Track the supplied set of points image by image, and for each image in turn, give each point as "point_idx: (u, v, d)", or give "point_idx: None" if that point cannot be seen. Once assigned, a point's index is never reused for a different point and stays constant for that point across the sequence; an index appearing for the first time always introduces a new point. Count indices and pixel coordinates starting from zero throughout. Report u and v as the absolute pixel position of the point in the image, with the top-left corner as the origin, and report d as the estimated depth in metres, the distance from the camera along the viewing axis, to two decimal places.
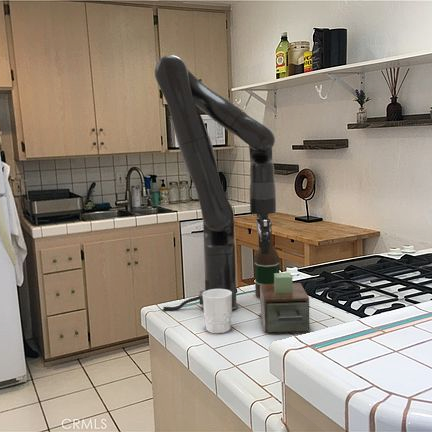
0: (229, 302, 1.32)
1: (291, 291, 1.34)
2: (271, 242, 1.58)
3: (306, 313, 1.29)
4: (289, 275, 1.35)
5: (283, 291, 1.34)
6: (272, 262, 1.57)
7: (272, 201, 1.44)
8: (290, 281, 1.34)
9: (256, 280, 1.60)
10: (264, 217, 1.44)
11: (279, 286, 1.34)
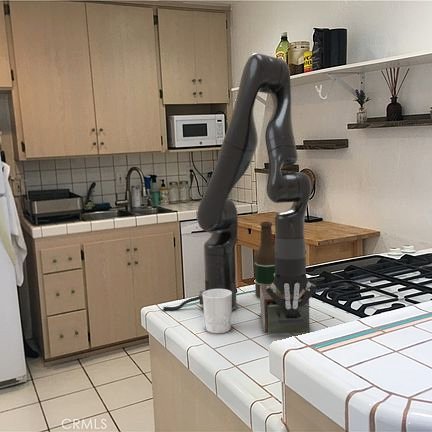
0: (229, 302, 1.32)
1: None
2: (271, 242, 1.58)
3: (307, 315, 1.28)
4: None
5: None
6: (272, 262, 1.57)
7: (280, 262, 1.20)
8: None
9: (256, 280, 1.60)
10: (275, 277, 1.24)
11: None
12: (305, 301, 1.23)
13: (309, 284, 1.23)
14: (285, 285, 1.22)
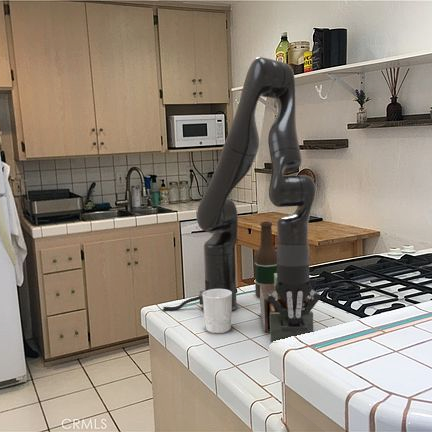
0: (229, 302, 1.32)
1: None
2: (271, 242, 1.58)
3: (311, 323, 1.22)
4: None
5: None
6: (272, 262, 1.57)
7: (282, 269, 1.15)
8: None
9: (256, 280, 1.60)
10: None
11: None
12: (309, 310, 1.18)
13: (313, 292, 1.18)
14: (288, 293, 1.16)
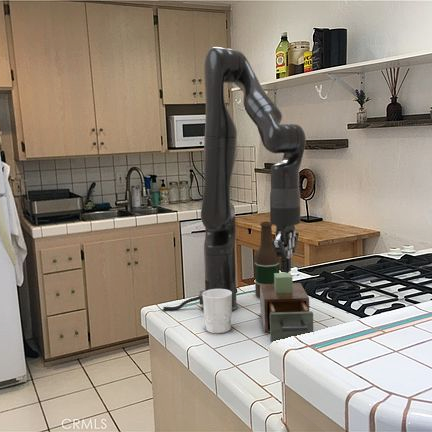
0: (229, 302, 1.32)
1: (291, 291, 1.34)
2: None
3: (311, 323, 1.22)
4: (289, 275, 1.35)
5: (283, 291, 1.34)
6: (272, 262, 1.57)
7: None
8: (290, 281, 1.34)
9: (256, 280, 1.60)
10: None
11: (279, 286, 1.34)
12: None
13: None
14: None
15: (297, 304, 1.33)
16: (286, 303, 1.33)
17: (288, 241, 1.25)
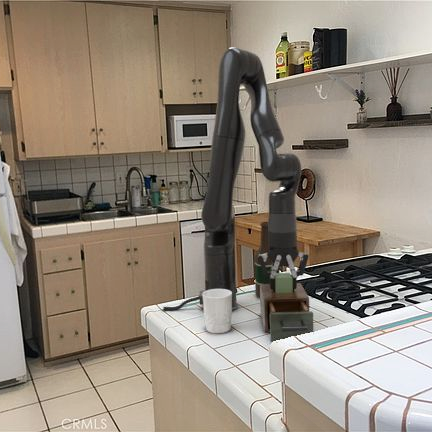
0: (229, 302, 1.32)
1: (291, 291, 1.34)
2: None
3: (311, 323, 1.22)
4: (289, 275, 1.35)
5: (283, 291, 1.34)
6: (272, 262, 1.57)
7: None
8: (290, 281, 1.34)
9: (256, 280, 1.60)
10: None
11: (279, 286, 1.34)
12: None
13: None
14: None
15: (297, 304, 1.33)
16: (286, 303, 1.33)
17: (275, 262, 1.34)
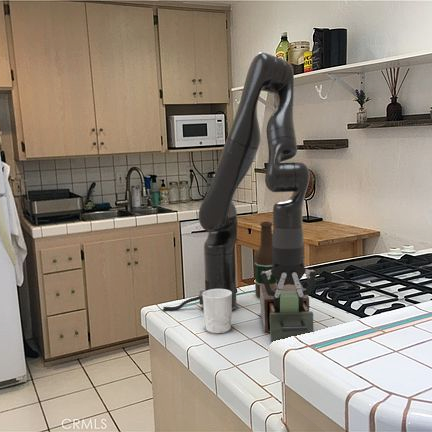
0: (229, 302, 1.32)
1: (297, 311, 1.24)
2: (271, 242, 1.58)
3: (311, 323, 1.22)
4: (295, 294, 1.25)
5: (288, 311, 1.24)
6: (272, 262, 1.57)
7: None
8: (296, 301, 1.23)
9: (256, 280, 1.60)
10: None
11: (283, 306, 1.24)
12: None
13: None
14: None
15: None
16: None
17: (279, 280, 1.23)
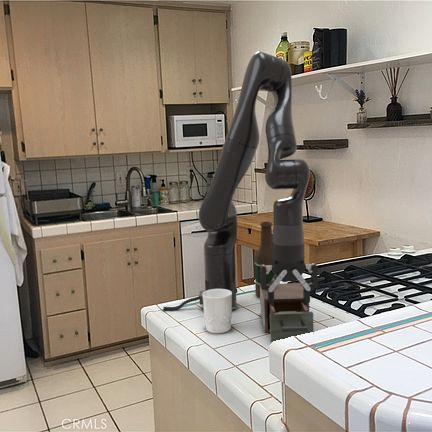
0: (229, 302, 1.32)
1: None
2: (271, 242, 1.58)
3: (311, 323, 1.22)
4: None
5: None
6: (272, 262, 1.57)
7: None
8: None
9: (256, 280, 1.60)
10: None
11: None
12: None
13: None
14: None
15: (297, 304, 1.33)
16: (286, 303, 1.33)
17: (278, 275, 1.23)
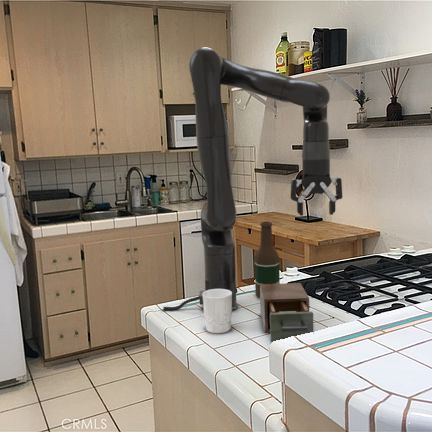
0: (229, 302, 1.32)
1: None
2: (271, 242, 1.58)
3: (311, 323, 1.22)
4: None
5: None
6: (272, 262, 1.57)
7: None
8: None
9: (256, 280, 1.60)
10: None
11: None
12: None
13: None
14: None
15: (297, 304, 1.33)
16: (286, 303, 1.33)
17: (307, 187, 1.41)
